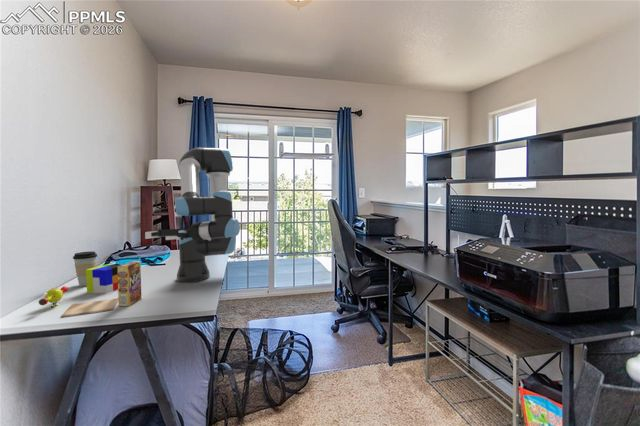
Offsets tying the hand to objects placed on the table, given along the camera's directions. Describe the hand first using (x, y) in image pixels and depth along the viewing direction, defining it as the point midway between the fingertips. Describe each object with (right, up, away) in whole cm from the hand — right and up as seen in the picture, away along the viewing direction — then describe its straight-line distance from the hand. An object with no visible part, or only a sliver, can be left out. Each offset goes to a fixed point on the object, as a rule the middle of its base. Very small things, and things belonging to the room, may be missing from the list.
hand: (156, 236), depth 140 cm
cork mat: (-14, -25, -20) cm, 35 cm away
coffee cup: (-39, -24, +13) cm, 47 cm away
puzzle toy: (-24, -24, +4) cm, 34 cm away
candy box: (-2, -25, -15) cm, 29 cm away
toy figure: (-30, -25, -17) cm, 43 cm away
